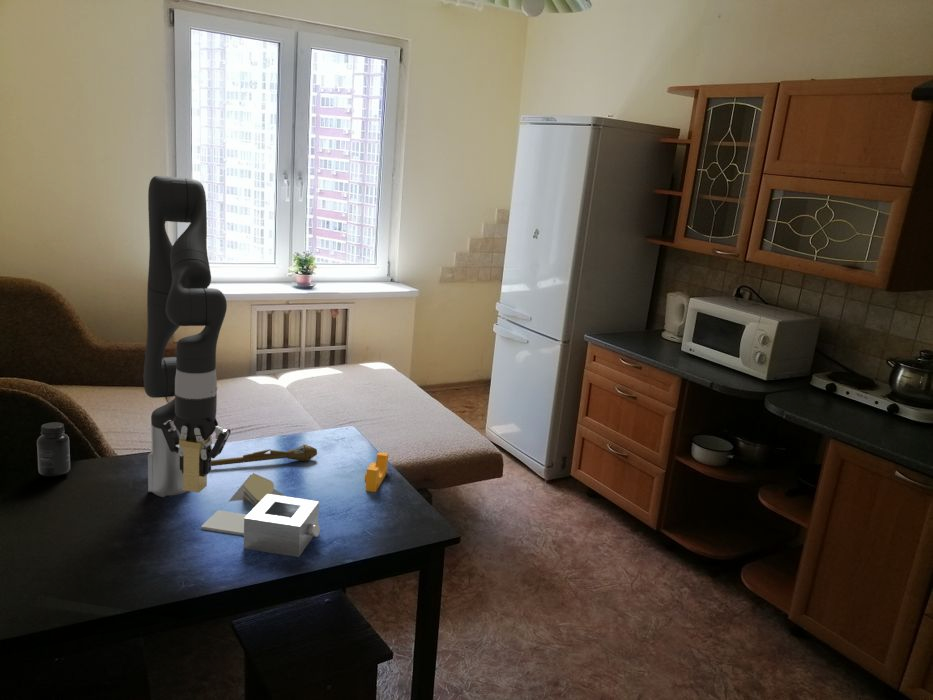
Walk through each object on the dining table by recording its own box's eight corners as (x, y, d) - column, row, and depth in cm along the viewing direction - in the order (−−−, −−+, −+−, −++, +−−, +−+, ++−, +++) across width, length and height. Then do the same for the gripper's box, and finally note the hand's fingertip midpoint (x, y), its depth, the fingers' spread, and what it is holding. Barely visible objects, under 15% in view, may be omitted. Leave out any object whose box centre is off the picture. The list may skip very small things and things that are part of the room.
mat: (200, 528, 155) (200, 526, 155) (217, 512, 163) (218, 510, 163) (244, 535, 154) (244, 533, 154) (259, 518, 162) (259, 516, 162)
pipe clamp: (371, 473, 192) (372, 451, 190) (386, 475, 191) (388, 453, 190) (358, 492, 180) (360, 468, 179) (375, 494, 180) (376, 470, 178)
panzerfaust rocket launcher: (179, 471, 185) (178, 454, 184) (314, 456, 198) (314, 440, 197) (180, 479, 181) (179, 461, 179) (318, 463, 194) (318, 447, 193)
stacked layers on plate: (228, 501, 169) (230, 490, 165) (250, 474, 175) (253, 463, 171) (263, 523, 168) (266, 512, 164) (285, 495, 174) (288, 484, 170)
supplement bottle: (76, 471, 176) (74, 425, 174) (48, 479, 171) (45, 432, 168) (60, 463, 180) (58, 418, 177) (32, 471, 174) (30, 425, 171)
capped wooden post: (178, 491, 140) (179, 440, 137) (190, 481, 144) (190, 432, 141) (200, 494, 139) (200, 443, 137) (211, 485, 143) (211, 435, 141)
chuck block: (243, 548, 149) (244, 518, 147) (266, 522, 161) (267, 493, 159) (308, 558, 148) (309, 527, 146) (326, 531, 159) (327, 502, 157)
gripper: (150, 391, 134) (151, 476, 138) (221, 401, 132) (220, 486, 136) (171, 380, 141) (171, 461, 145) (239, 390, 139) (237, 471, 144)
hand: (195, 473), depth 141 cm, fingers closed on capped wooden post, 3 cm apart
